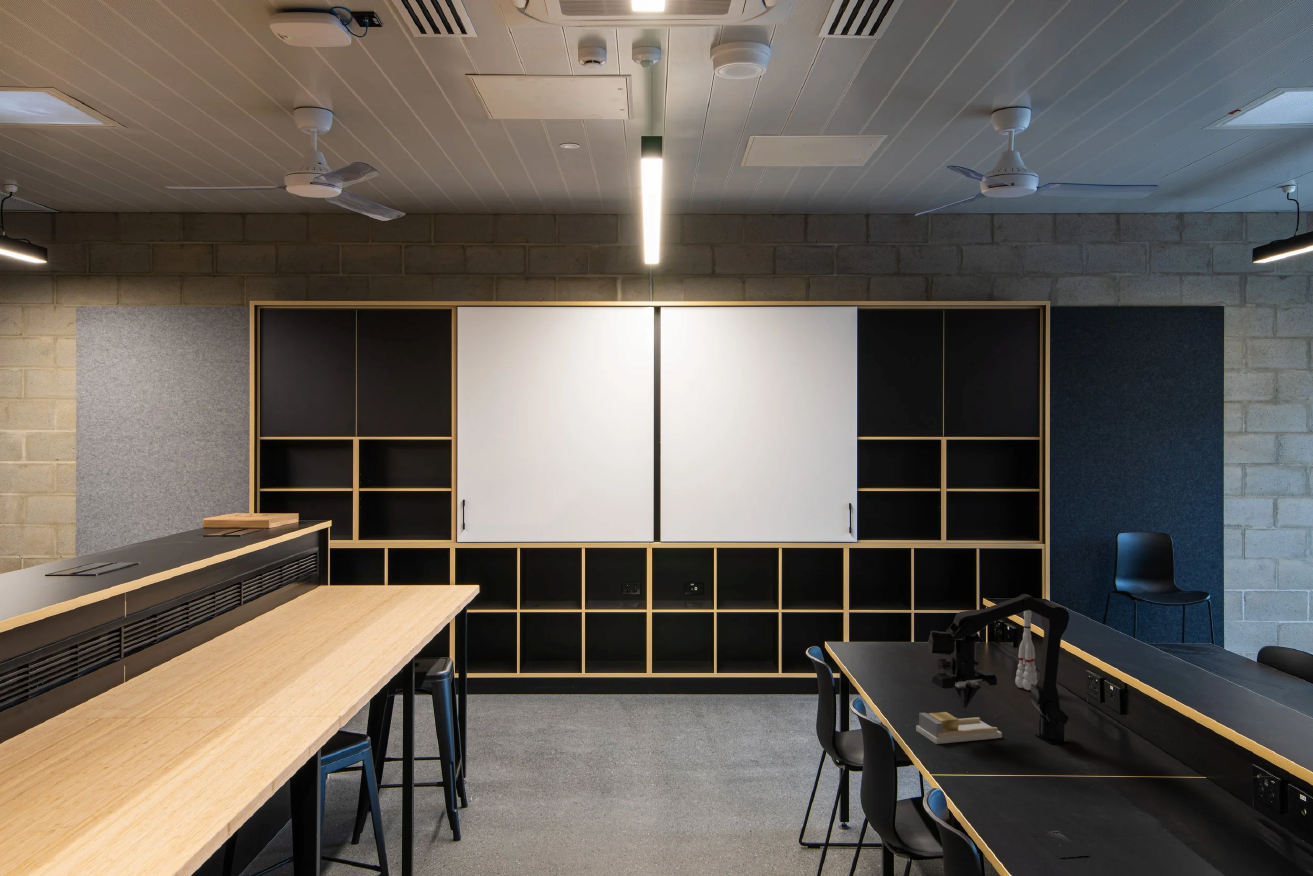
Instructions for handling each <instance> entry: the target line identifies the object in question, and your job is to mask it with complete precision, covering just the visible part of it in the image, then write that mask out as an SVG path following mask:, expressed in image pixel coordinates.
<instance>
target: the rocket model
mask: <svg viewBox="0 0 1313 876" xmlns="http://www.w3.org/2000/svg"><path fill="white" fill-rule="evenodd" d="M1023 618H1024V619H1023V633H1022V640H1021V642H1020V645H1019V647H1018V649H1019V650H1018V655H1017V656H1018V658H1019V659H1018V661H1019V662H1018V664H1017V670H1016V674H1015V675H1016V676H1015V680H1014V683H1015V685H1016V686H1017V687H1018V688H1020V689H1023V690H1026V691H1031V684H1034V685H1036V684H1037V682H1038V681H1039V680H1038V679H1037V676H1038V673H1037V671H1036V669H1037V668H1036V665H1035V664H1036V663H1035V659H1036V653H1035V646H1034V643H1033V641H1032V633H1031V629H1032V627H1031V625H1032V611H1030V610H1027V611H1024V612H1023Z"/></svg>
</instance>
